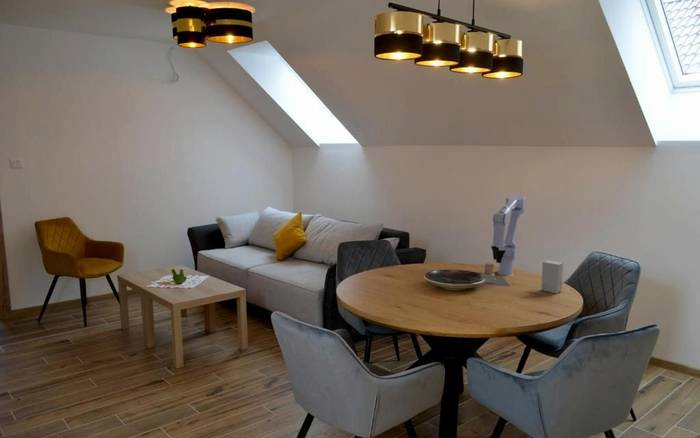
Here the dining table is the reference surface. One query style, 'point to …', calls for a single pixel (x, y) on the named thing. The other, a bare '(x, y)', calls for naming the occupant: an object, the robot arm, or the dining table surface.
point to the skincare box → (552, 276)
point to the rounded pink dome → (489, 269)
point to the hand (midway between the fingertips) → (497, 261)
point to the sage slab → (488, 276)
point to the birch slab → (489, 280)
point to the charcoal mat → (498, 282)
